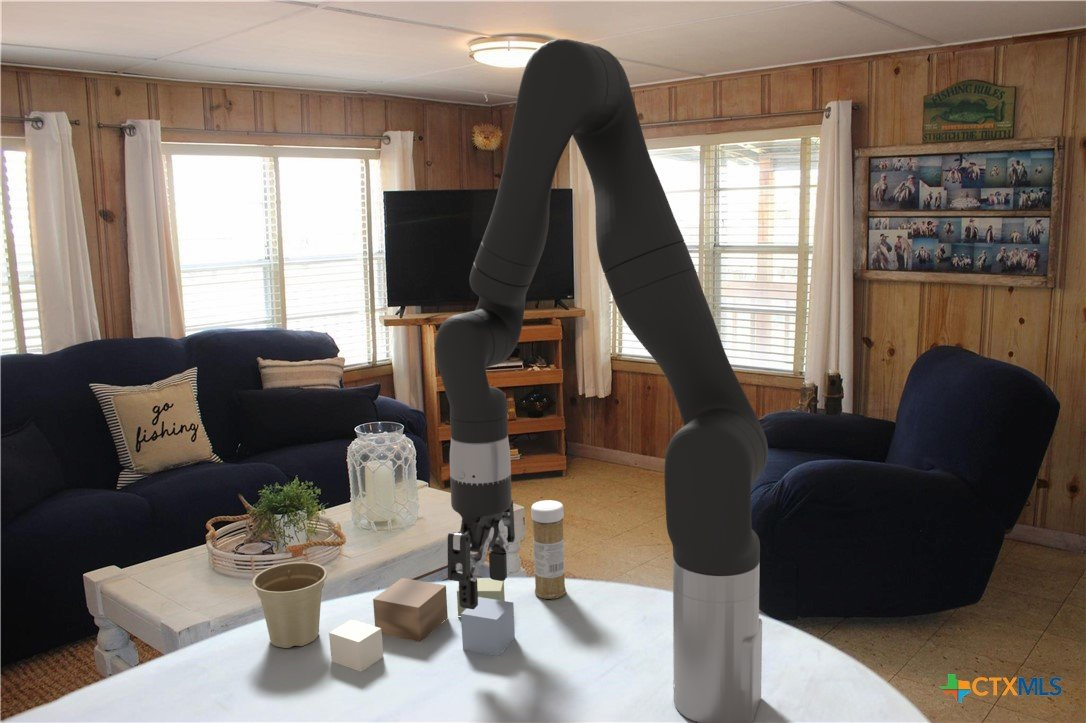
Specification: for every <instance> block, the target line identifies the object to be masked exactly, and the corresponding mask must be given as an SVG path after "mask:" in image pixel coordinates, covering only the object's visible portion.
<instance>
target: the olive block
mask: <svg viewBox="0 0 1086 723" xmlns="http://www.w3.org/2000/svg"><path fill="white" fill-rule="evenodd" d="M477 587H478V597H482V598H488V599H495V600H501V601H506V600H505V580H504V581H498V580H492V579H491V578H487V577H486V578H484V577H483V578H481V577H480V578H478V577H477ZM456 599H457V600H456V601H457V602H456V603H457V617H458V616H461V613H462V612H463V611H464V610H465V609H467V608H463V607H461V606H460V603H459V585H458V586H457V590H456Z"/></svg>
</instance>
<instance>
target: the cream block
mask: <svg viewBox="0 0 1086 723" xmlns="http://www.w3.org/2000/svg"><path fill="white" fill-rule="evenodd" d="M328 636H329V637H328V638H329V650H330V659H331V662H333V663H335V664H338V665H341V666H344V667H347V668H350V669H352V670H355V671H358V672H362V671H364V670H366V669H367V668H368V667H370V666H373V664H375V663H376V662H378V661H380V660H381V659H382V658H384V649H383V637H382V636H383V634H382V633H381V628H378V627H375V625H372V624H369V623H365V622H362V621H360V620H356V619H352V618H351V619H350V620H348V621H347V622H345V623H343V624H342V625H339V626H338V627H336V628H334V629H332V630H331V631H330V632H328Z"/></svg>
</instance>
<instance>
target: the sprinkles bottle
mask: <svg viewBox="0 0 1086 723" xmlns="http://www.w3.org/2000/svg"><path fill="white" fill-rule="evenodd" d="M530 507H531V509H530V514H531V517H530V518H531V519H532V520H531V521H532V530H533V532H532V533H533V537H532V540H533V541H532V543H533V567H534V568H533V570H534V582H535V588H534V593H535V595H536V596H537V597H539V598H542V599H545V600H554V599H559V598H560V597H563V596H564V595H565V594H566V592H567V590H566V589H567V588H566V583H565V581H566V580H565V575H566V574H565V573H566V572H565V571H566V568H565V540H564V526H563V525H564V524H563V521H564V518H565V515H564V514H565V513H564V512H565V511H564V504H563V503H562V502H560V501H558V500H550V499H548V500H545V499H544V500H539V501H536V502H534V503H533V504H532V505H531V506H530Z"/></svg>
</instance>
